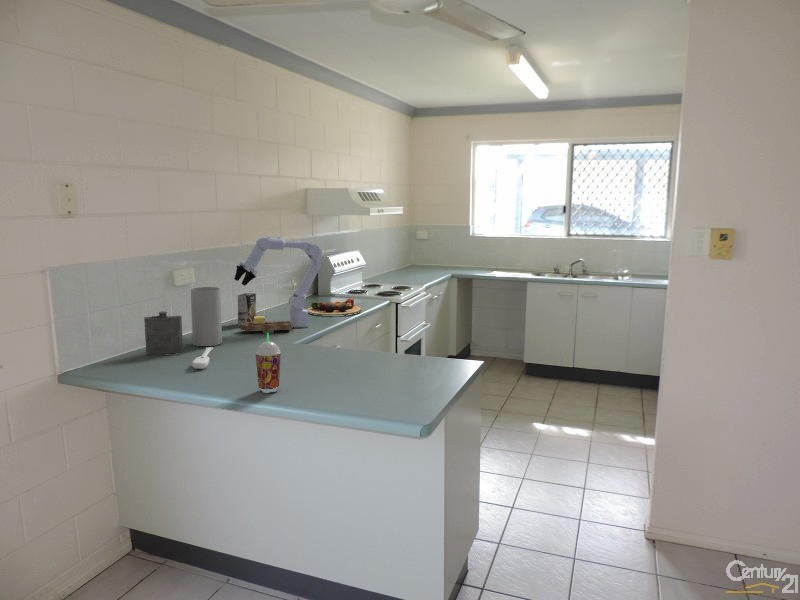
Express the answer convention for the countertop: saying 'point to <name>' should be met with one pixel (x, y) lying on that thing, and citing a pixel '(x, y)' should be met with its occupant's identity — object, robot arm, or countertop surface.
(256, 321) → the block
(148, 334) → the flask
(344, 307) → the wooden plate with food
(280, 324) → the brown wooden tray
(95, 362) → the countertop surface
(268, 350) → the smoothie
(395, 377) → the countertop surface
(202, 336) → the cylinder vase
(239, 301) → the coffee box
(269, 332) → the fulcrum
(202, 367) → the spatula
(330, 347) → the countertop surface
